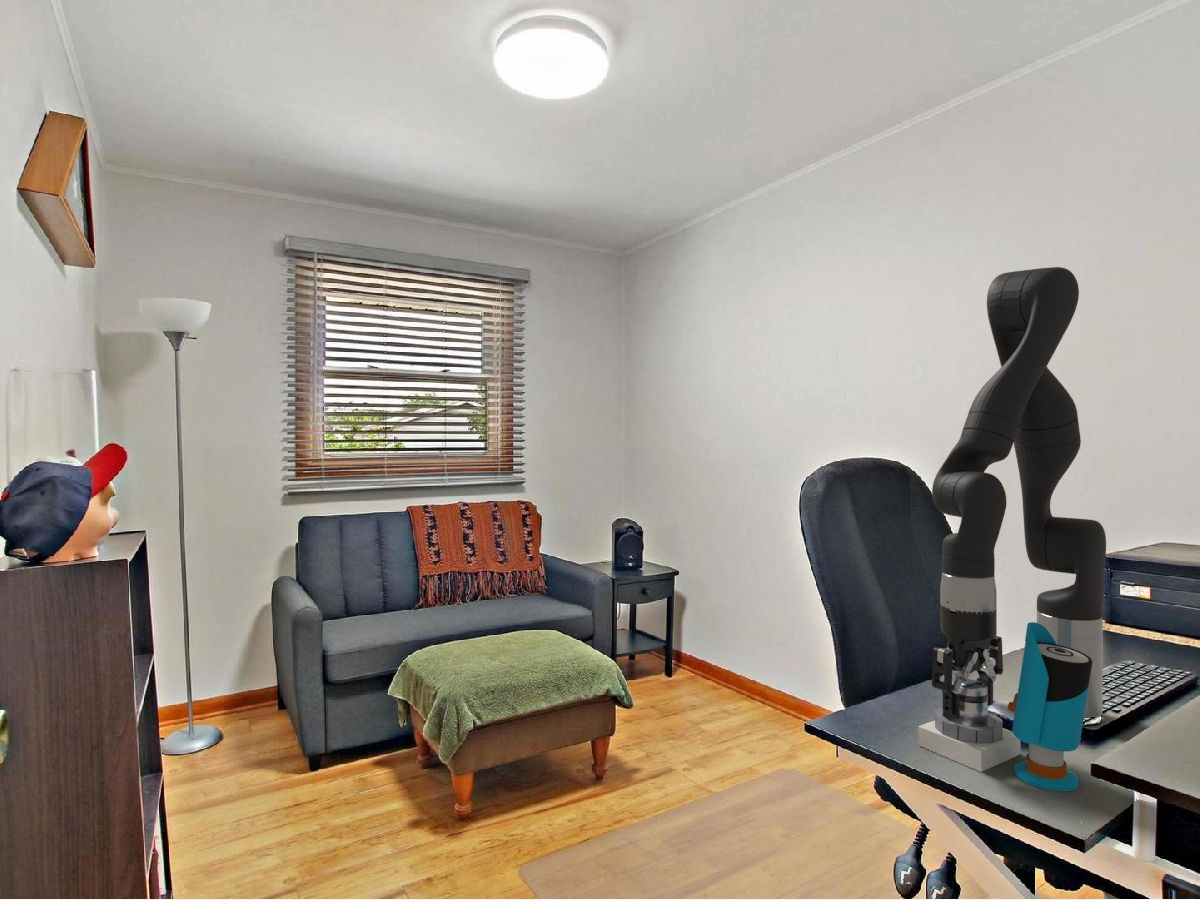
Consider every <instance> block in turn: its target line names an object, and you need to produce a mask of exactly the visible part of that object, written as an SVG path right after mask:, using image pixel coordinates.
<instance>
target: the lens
mask: <svg viewBox="0 0 1200 900" xmlns="http://www.w3.org/2000/svg"><path fill="white" fill-rule="evenodd" d="M954 681H955V678H953V679H952V684H953V683H954ZM958 693H959V694H960V716H959V717H958V718H955V719H954V718H951V722H954V723H957V724H960V725H965V726H971V727H988V712H989V706H988V686H987V685H986V684H984V683H982V682H980V681H977V679H971V678H970V679H969V678H968V679H967V680H966V681H963V683H962V685H961V688H960V690H959V692H958Z"/></svg>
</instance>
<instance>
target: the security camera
mask: <svg viewBox="0 0 1200 900" xmlns="http://www.w3.org/2000/svg"><path fill="white" fill-rule="evenodd" d="M1026 625H1027V626H1026V632H1025V638H1024V641H1025V643H1024V649H1023V655H1022V663H1021V670H1020V676H1019V683H1018V689H1017V693H1015V695H1014V697H1013V701H1009V702H1008V704H1007V710H1009V711H1011V712H1014V715H1013V722H1012V728H1011V731H1012V732H1013V734H1014V736H1015V737H1016V738H1018V739H1019V740H1020V742H1022V743H1024V744H1028V753H1027V754H1026V756H1025V761H1021V762H1018V763H1016V764H1015V766H1014V774H1015V775H1016V777H1017V778H1018V779H1020V780H1021V781H1022V782H1024V783H1026V784H1028V785H1031V786H1032V787H1036V788H1040V789H1043V790H1049V791H1053V792H1070V791H1074V790H1076V789H1078V787H1079V783H1080V782H1079V778H1078V776H1077V775H1076V774H1075V773H1074V772H1072V771H1071V770H1068V769H1067V765H1068V764H1067V762H1066V760H1065V758H1064V757H1065V753H1066V752H1072V751H1076V750H1077V749H1078V748H1079V745H1080V742H1081V737H1082V732H1083V726H1084V725H1083V720H1084V714H1085V708H1086V702H1087V696H1088V690H1089V681H1090V675H1091V668H1092V659H1091V658H1090V657H1089V656H1087V655H1086V654H1084V653H1082V652H1080V651H1077V650H1075V649H1072V648H1069V647H1066V646H1062V645H1057V644H1056V642H1055V640H1054V639H1053V637H1052V635H1051V634H1050V632H1049V631H1048V630H1047V629H1046V628H1045V627H1044V626H1043V625H1041V624H1039V623H1037V622H1036V621H1035V622H1032V621H1030V622H1028V623H1027V624H1026Z"/></svg>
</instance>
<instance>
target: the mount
mask: <svg viewBox="0 0 1200 900" xmlns="http://www.w3.org/2000/svg"><path fill="white" fill-rule="evenodd" d="M1003 726H1004V725H1003V719H1002V718H1001V717H1000V716H998V715H997V714H995V713H993V712H991V711H988V727H971V726H965V725H960V724H957V723H954V722H951V717H949V716H946V715H945V714H944V713H943V706H942V707H939V708H936V710H935V711H934V720H932V721H929V722H927V723H924V724H921V725H918V726H917V746H918V745H919V746H918V747H920V746H921V747H920V748H922V747H924V748H923V749H925V748H926V749H925V750H927V749H929V750H928V751H929V752H932V751H933V753H934V752H935V753H934V754H936V755H939V756H942V757H945V758H946V757H947V759H949V760H951V761H954V762H956V763H958V764H961V765H963V766H966V767H969V768H971V769H973V770H976V771H978V772H980V773H982V772H985V771H986V770H989V769H991V768H994V767H996V766H997V765H1000V764H1002V763H1005V762H1007V761H1009V760H1011V759H1013V758H1015V757H1018V756H1020V755H1021V741H1020V740H1019V739H1018V738H1016V737H1015V736H1014V734H1013V732H1012V730H1008V729H1007V728H1003Z"/></svg>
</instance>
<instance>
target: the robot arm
mask: <svg viewBox="0 0 1200 900" xmlns="http://www.w3.org/2000/svg"><path fill="white" fill-rule="evenodd" d="M1079 290H1080V289H1079V283H1078V280H1077V278H1076V276H1075V274H1073V272H1072V271H1071V270H1069V269H1067V268H1065V267H1061V266H1055V267H1054V266H1053V267H1052V266H1051V267H1041V268H1032V269H1031V268H1030V269H1025V270H1014V271H1009V272H1003V273H1001V274H999V275H997V276H995V277H994V278H993V280H992V281H991V283H990V285H989V287H988V290H987V295H986V309H987V310H986V312H987V317H988V322H989V326H990V330H991V335H992V338H993V341H994V344H995V348H996V352H997V355H998V360H999V363H1000V368H999V369H998V370H997V371H996V372H995V373H994V374H993V375H992V376H991V377H990V378H989V379H988V380H987V382H985V383H984V385H983V386H982V387H981V388H980V390H979V391H978V392H977V394H976V395H975V397H974V399H973V401H972V403H971V405H970V408H969V410H968V413H967V417H966V419H965V422H964V425H963V427H962V431H961V435H960V437H959V439H958V441H957V443H956V444H955V446H954V447H953V448H952V449H951V450H950V452H949V454H948V456H947V457H946V458H945V460H944V462H943V463H942V464H941V466H940V467H939V469H938V471H937V472H936V475H935V478H934V479H933V483H932V487H931V489H932V491H931V496H932V501H933V504H934V506H935V507H936V509H937V510H938V511H939V512H941V513H943V514H944V515H947V516H951V517H952V516H953V517H958V518H961V520H960V524H959V527H958V531H957V532H953V533H950V534H948V535H945V537H944V538H943V541H942V546H941V548H942V549H941V581H940V589H939V592H940V601H939V603H940V605H939V606H940V607H939V608H940V615H939V616H940V623H939V624H940V631H941V633H943V634H944V635H945V636H946V637H947V644H946V647H945V648H941V647H937V646H935V647H934V648H932V649H933V650H932V660H931V661H932V664H931V687H932V688H934V689H936V690H941V692H942V707H943V713H944V714H945V715H946V716H949V717H951V718H954V719H955V718H958V717H959V716H960V694H959V693H958V692H959V690H960V688H961V685H962V683H963V681H966V680H967V679H969V677H970V674H972V673H974V672H975V675H976V676H977V678H976V681H980V682H982V683H984V684H986V685H987V686H988V707H990V706H992V705H993V704H994V682H996V680H997V675H998V676H999V675H1000V676H1001V675H1003V674H1004V660H1003V640H1002V639H1003V638H1002V636H999V635H997V633H998V632H997V621H998V620H997V618H998V617H997V602H998V601H997V596H998V595H997V584H996V579H995V577H996V576H995V572H996V571H995V568H996V567H995V560H996V559H995V547H996V544H997V541H998V538H999V535H1000V532H1001V527H1002V524H1003V521H1004V517H1005V514H1006V509H1007V495H1006V494H1007V493H1006V490H1005V488H1004V485H1003V483H1002V482H1001V480H1000V479H999V478H998V477H997V476H995V475H993V474H992V473H988V472H985V471H986V470H987V469H988V467H989V466H990V465H992V464H996V463H999V462H1001V461H1004V460H1005V459H1006V458H1008V456H1009V455H1010V453H1011V450H1012V448H1013V446H1014V452H1015V453H1014V454H1015V457H1016V462H1017V463H1016V464H1017V467H1018V473H1019V479H1020V480H1019V482H1020V488H1021V497H1022V500H1021V501H1022V515H1023V516H1022V517H1023V531H1024V532H1023V533H1024V543H1025V551H1026V554H1027V558H1028V560H1029V563H1030V564H1031V565H1032V566H1033V567H1034V568H1035V569H1039V570H1041V571H1042V570H1043V571H1049V572H1055V573H1056V572H1057V573H1063V574H1071V575H1072V574H1073V575H1075V580H1074V583H1073V584H1071V585H1069V586H1066V587H1063V588H1059V589H1050V590H1046V591H1043V592H1040V593H1039V594H1038V595H1037V598H1036V623H1039V624H1041V625H1043V626H1044V627H1045V628H1046V629H1047V630H1048V631H1049V632H1050V634H1051V635H1052V637H1053V639H1054V640H1055V642H1056V644H1057V645H1062V646H1066V647H1069V648H1072V649H1075V650H1077V651H1080V652H1082V653H1084V654H1086V655H1087V656H1089V657H1090V658H1091V659H1092V668H1091V675H1090V681H1089V690H1088V696H1087V702H1086V708H1085V714H1084V718H1091V717H1098V716H1101V715H1102V716H1103V673H1104V671H1103V668H1104V667H1103V666H1104V665H1103V660H1104V659H1103V652H1104V651H1103V647H1104V646H1103V637H1104V635H1103V633H1104V632H1103V625H1104V624H1103V622H1104V621H1103V620H1104V619H1103V616H1104V615H1103V611H1104V610H1103V608H1104V597H1105V596H1104V591H1105V572H1106V571H1105V570H1106V556H1107V537H1106V531H1105V529H1104V527H1103V525H1102V524H1101V523H1100V522H1099V521H1097V520H1094V519H1089V518H1087V519H1086V518H1074V517H1062V516H1061V517H1060V516H1053V515H1052V512H1051V499H1052V496H1053V493H1054V491H1055V490H1056V487H1057V486H1058V484H1059V482H1060V481H1061V479H1062V477H1064V475H1065V474H1066V472H1067V471H1068V469H1069V468H1070V467H1071V465H1072V463H1073V462H1074V461H1075V459H1076V457H1077V455H1078V453H1079V451H1080V448H1081V444H1082V443H1081V441H1082V439H1081V431H1080V423H1079V415H1078V409H1077V405H1076V403H1075V402H1074V399H1073V397H1072V396H1071V395H1070V393H1069V392H1068V390H1067V389H1066V388H1065V387H1064V385H1063V383H1061V382H1060V380H1059V379H1058V378H1057V377H1056V376H1055V375H1054V373H1053V372H1051V370H1050V369H1049V367H1048V365H1049V363H1050V362H1051V359H1052V357H1053V355H1054V354H1055V352H1056V350H1057V348H1058V346H1059V344H1060V343H1061V340H1062V339H1063V337H1064V336H1065V333H1066V331H1067V329H1068V328H1069V326H1070V324H1071V322H1072V320H1073V318H1074V315H1075V312H1076V310H1077V307H1078V306H1077V305H1078V303H1079V297H1080V291H1079ZM992 659H993V660H994V661H995V662H993V660H992ZM994 663H995V664H994ZM954 669H955V670H954ZM941 675H942V677H941ZM940 678H941V679H940ZM953 679H955V681H954V683H953V684H952V680H953Z"/></svg>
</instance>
